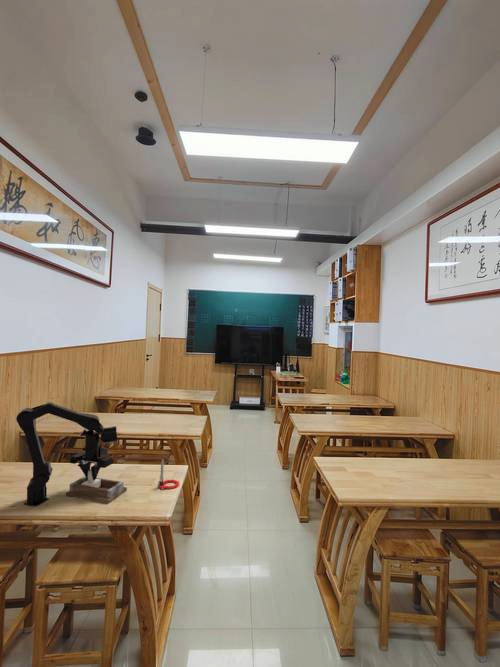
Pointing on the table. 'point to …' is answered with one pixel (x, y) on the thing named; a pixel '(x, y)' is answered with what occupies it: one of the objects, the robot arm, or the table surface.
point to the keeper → (92, 481)
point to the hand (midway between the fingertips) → (91, 479)
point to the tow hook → (166, 480)
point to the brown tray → (97, 490)
